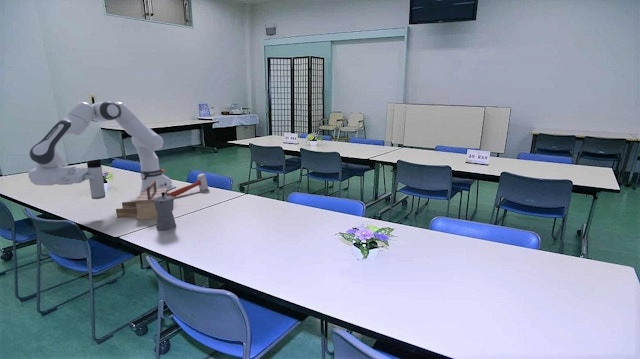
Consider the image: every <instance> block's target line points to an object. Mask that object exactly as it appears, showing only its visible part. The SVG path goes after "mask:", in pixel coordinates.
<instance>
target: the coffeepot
mask: <svg viewBox="0 0 640 359" xmlns="http://www.w3.org/2000/svg"><path fill="white" fill-rule="evenodd" d="M167 193H168V192H167ZM167 193H165V192H162V193H161V194H162V196H158V197H156V198H154V199H153V200H154V204H155V208H156V211H157V213H158V215H157V218H156V225H155V228H156V230H158V231H165V232H166V231H170V230H173V229H175V228H176V227H177V224H176V219H175V217H174V216H175V215H174V214H173V211H174V200H175V197H173V196H168V194H167Z"/></svg>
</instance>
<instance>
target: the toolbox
mask: <svg viewBox="0 0 640 359" xmlns="http://www.w3.org/2000/svg"><path fill="white" fill-rule="evenodd" d="M152 186H154V189H151V188H152ZM168 191H169V190H168V188H159V189H157V188H156V180H153V181H152V182H151V184H150V185H149V186H148V188H147V189H144V190H143V191H142V192H141V191H140V192H141V193H140V194H139V195H138V196H137V197H136V198H135V200H134V201H122V202H121V205H122V208H116V209H115V214H116V219H126V218H137V220H138V221H139V220H152V219H157V215H158V213H157V211H156V208H155V204H154V200H153V199H154V198H156V197H158V196H162V194H161V193H162V192H165V193H167V194H168V193H169V192H168Z"/></svg>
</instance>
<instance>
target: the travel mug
mask: <svg viewBox="0 0 640 359" xmlns="http://www.w3.org/2000/svg"><path fill="white" fill-rule="evenodd" d="M101 161H102V160H101V159H100V158H99V159H98V158H97V159H93V160H88V161H87V162H86V166H87V167H86V168H88V175H96V178H94V179H88V181H89V182H88V183H89V188H90V196H91V199H93V200H101V199H102V200H103V199H104V198H106V191H105V190H106V189H105V183H104V175H103V168H102V167H103V166H102V162H101Z"/></svg>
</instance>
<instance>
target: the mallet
mask: <svg viewBox="0 0 640 359" xmlns="http://www.w3.org/2000/svg"><path fill="white" fill-rule="evenodd" d="M206 177H207V176H206V174H205V173H199V174H198V175H197V176H196V178H197V180H196V181H195V182H194V183H191V184H188V185H185V186H183V187H181V188H179V189H178V188H177V189H176V190H173V191H170V192H167V193H168V196H173V197H174V198H176V197H178V196H181V195H182V194H185V193H186V192H189V191H190V190H191V189H193V188H196V187H198V189H199V190H200V191H205V190H208V189H209V185H208V180H207V178H206Z"/></svg>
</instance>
